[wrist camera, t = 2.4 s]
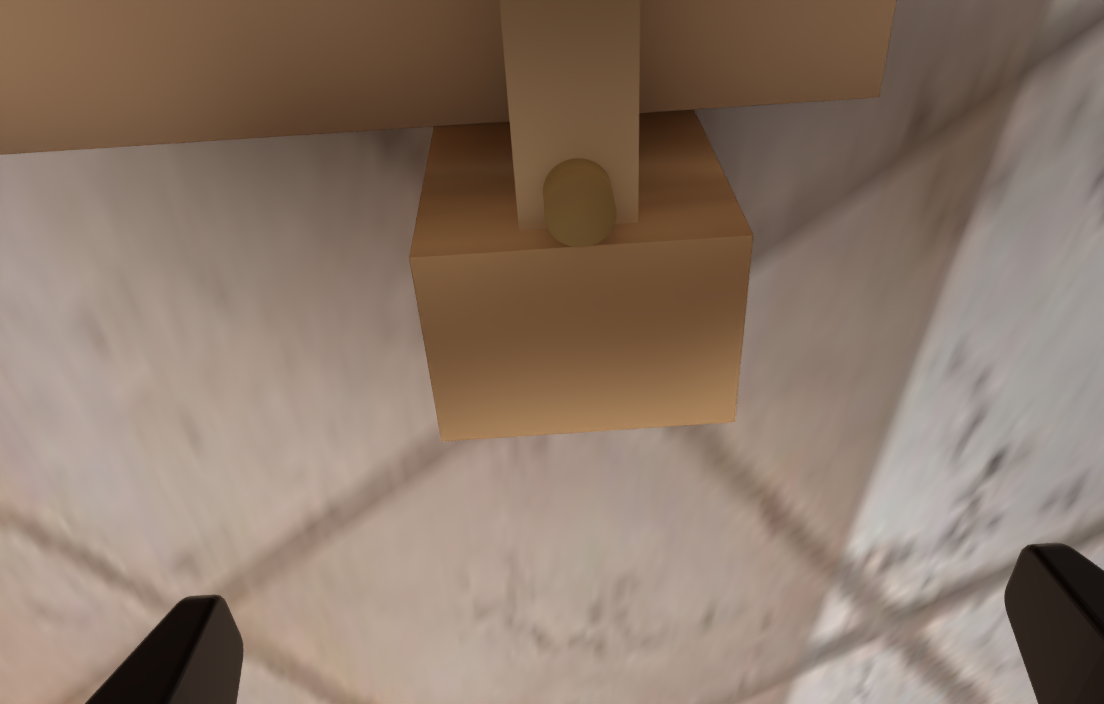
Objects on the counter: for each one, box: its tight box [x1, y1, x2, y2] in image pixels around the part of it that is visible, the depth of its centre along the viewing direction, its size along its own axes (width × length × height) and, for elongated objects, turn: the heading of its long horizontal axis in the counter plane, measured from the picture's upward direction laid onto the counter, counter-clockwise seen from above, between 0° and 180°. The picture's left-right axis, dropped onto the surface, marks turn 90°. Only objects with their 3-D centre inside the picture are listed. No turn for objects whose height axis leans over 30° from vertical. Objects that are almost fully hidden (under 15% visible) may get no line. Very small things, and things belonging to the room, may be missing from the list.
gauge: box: [409, 0, 753, 441], centre depth 13 cm, size 11×5×5 cm, turn 3°
